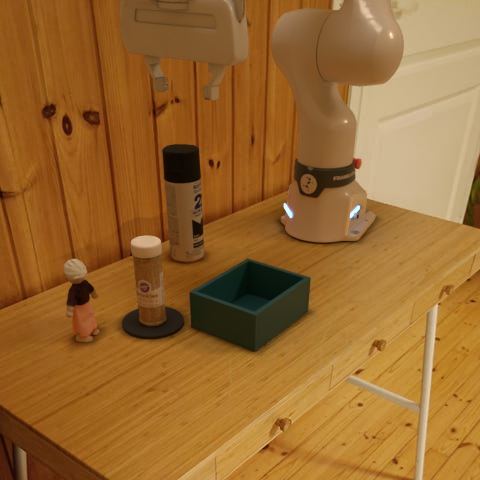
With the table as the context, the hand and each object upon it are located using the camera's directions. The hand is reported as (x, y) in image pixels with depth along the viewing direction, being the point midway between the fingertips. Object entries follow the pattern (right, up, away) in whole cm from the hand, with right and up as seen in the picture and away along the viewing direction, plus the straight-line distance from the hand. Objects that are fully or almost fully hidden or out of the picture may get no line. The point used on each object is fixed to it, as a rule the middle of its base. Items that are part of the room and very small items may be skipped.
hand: (185, 95), depth 88 cm
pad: (-6, -31, +11) cm, 34 cm away
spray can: (-2, -15, +32) cm, 35 cm away
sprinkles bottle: (-6, -31, +11) cm, 33 cm away
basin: (+10, -30, +12) cm, 34 cm away
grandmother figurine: (-16, -34, +8) cm, 38 cm away
